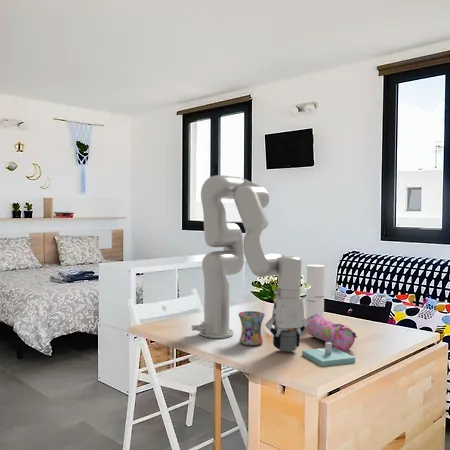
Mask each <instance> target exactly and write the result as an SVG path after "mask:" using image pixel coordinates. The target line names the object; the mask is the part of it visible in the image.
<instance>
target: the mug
mask: <svg viewBox="0 0 450 450" xmlns="http://www.w3.org/2000/svg"><path fill="white" fill-rule="evenodd" d="M265 315H266V314H265V313H264V312H261V311H257V310H256V311H254V310H250V311H249V310H246V311H240V312H239V313H238V317H239V319H240V322H241V335H240V337H239V340H238V341H239V343H241V344H242V345H244V346H258V345H261V344H263V342H264V340H263V337H262V323H263V320H264V318H265Z"/></svg>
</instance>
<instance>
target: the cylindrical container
mask: <svg viewBox="0 0 450 450" xmlns="http://www.w3.org/2000/svg"><path fill="white" fill-rule="evenodd" d="M325 267H326V266H325V265H323V264H307V265H306V285H307V284H309V285H311V288H310V289H308V290H307V289H306V300H305V304H306V305H305V319H306V320H307V319H308V318H309V317H311V316H312V315H315V314H320V315H322V316H323V317H325V316H324V315H325V274H326V273H325V271H326V270H325V269H326V268H325Z"/></svg>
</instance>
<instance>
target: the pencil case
mask: <svg viewBox="0 0 450 450" xmlns="http://www.w3.org/2000/svg"><path fill="white" fill-rule="evenodd" d="M307 321H308V322H309V324H308V325H307V326H306V327H305V330H306V332H307V334H309V335H310V336H311V337H313V338H317V339H319V340H321V341H323V342H325V343H326V342H330V343H332V347H334V348H336V349H339V350H341V351H343V352H346V351H348V350H349V349H350V348H351V347H352V346H353V345H354V343H355V340H356V339H358V336H357V335H356V332H354V331H353V330H352V329H351V328H350V327H349V326H346V325H345V324H341V323H336V322H334V321H331V320H329V319H328V318H327V317H325V316H324V317H323V316H322V315H320V314H315V315H312V316H311V317H309V318H308V319H307Z"/></svg>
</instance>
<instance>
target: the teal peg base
mask: <svg viewBox="0 0 450 450" xmlns="http://www.w3.org/2000/svg"><path fill="white" fill-rule="evenodd" d="M324 345H325V346H324V347H322V348H319V347H318V348H313V349H305V350H303V349H302V350H301V351H302V356H304V357H305V358H307V359H309V360H311V361H312V362H314V363H316V364H318V365H320V366H322V367H328V365H329V366H337V365H343V364H351V363H352V364H353V363H356V357H355V356H353V355H350V354H349V353H347V352H346V351H341V350H339V349H336V348H335V347H333V346H332V343H330V342H325V344H324Z"/></svg>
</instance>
